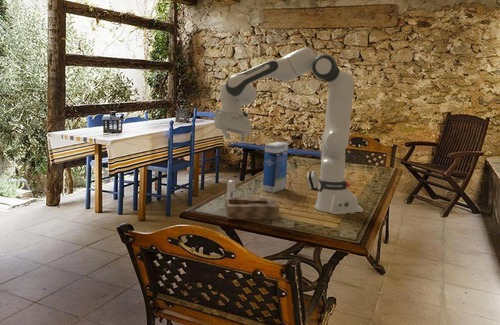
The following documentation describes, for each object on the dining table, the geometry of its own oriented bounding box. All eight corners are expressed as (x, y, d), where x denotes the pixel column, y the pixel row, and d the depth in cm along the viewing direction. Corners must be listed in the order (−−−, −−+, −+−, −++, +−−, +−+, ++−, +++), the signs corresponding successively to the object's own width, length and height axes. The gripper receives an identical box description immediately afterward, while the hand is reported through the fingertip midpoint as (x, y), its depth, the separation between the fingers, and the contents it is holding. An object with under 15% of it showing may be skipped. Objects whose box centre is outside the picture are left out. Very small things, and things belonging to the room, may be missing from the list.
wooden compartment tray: (227, 219, 181) (227, 206, 180) (225, 209, 195) (225, 197, 194) (278, 219, 184) (279, 206, 183) (272, 209, 198) (273, 198, 197)
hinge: (318, 190, 239) (313, 173, 239) (310, 192, 241) (305, 175, 240) (322, 183, 255) (317, 167, 254) (314, 185, 257) (309, 169, 256)
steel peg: (235, 204, 204) (236, 179, 202) (237, 207, 199) (238, 182, 197) (224, 204, 204) (225, 179, 202) (225, 207, 198) (225, 182, 196)
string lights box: (274, 186, 244) (277, 141, 239) (286, 188, 239) (289, 143, 235) (262, 190, 233) (264, 143, 228) (274, 193, 229) (276, 145, 224)
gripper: (218, 105, 196) (221, 132, 191) (251, 115, 209) (255, 140, 204) (210, 112, 201) (213, 138, 195) (243, 121, 214) (247, 146, 208)
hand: (235, 139), depth 200 cm, fingers open, 8 cm apart
